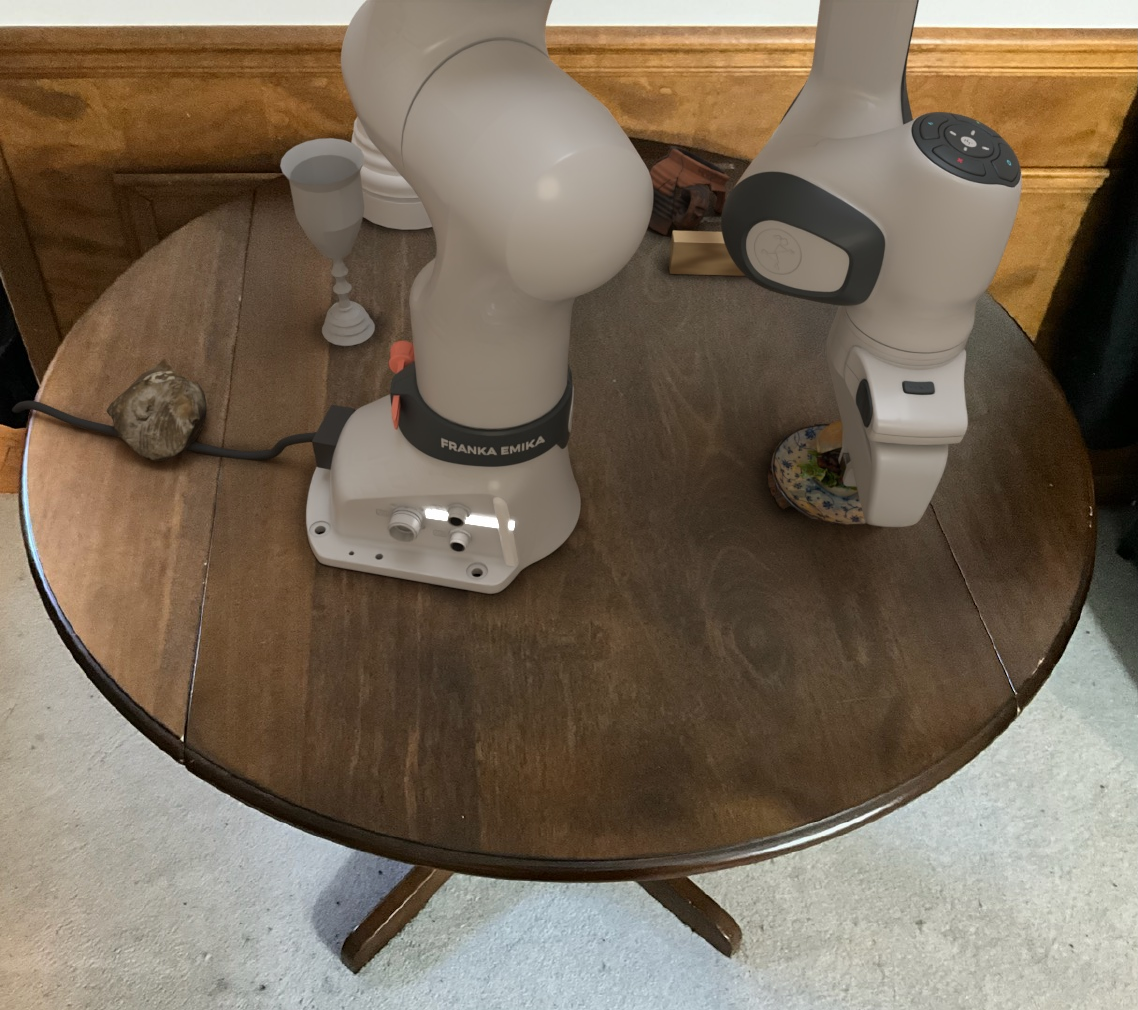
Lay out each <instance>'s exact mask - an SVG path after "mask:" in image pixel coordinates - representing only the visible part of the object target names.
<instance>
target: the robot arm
mask: <svg viewBox="0 0 1138 1010" xmlns="http://www.w3.org/2000/svg"><path fill="white" fill-rule="evenodd" d="M553 1H554V0H365V1H364V2H363V3H362V4H361V5H360V7H359V8H358V9H357V11H356V12H355V13H354V15H353V17H352V18H351V20H350V22H349V24H348V26H347V29H346V31H345V34H344V37H343V41H342V45H341V51H340V52H341V53H340V69H341V76H342V80H343V83H344V86H345V89H346V91H347V94H348V96H349V100H350V101H351V104H352V106H353V109H354V111H355V113H356V116H357V117H358V118H359V120H360V122H361V124H362V126H363V128H364V130H365V132H366V134H367V136H368V137H369V139H370V140H371V141H372V143H373V144H374V145H375V146H376V148H377V149H378V150H379V151H380V152H381V153H382V154H383V155H384V157H385V158H386V159H387V160H388V161H389V162H390V163H391V165H392V166H393V167H394V168H395V169H396V170H397V171H398V172H399V174H400V175H401V176H402V177H403V178H404V179H405V180H406V181H407V183H408V184H409V185H410V186H411V187H412V189H413V190H414V192H415V193H416V194H417V196H418V197H419V198H420V200H421V202H422V204H423V206H424V208H425V210H426V212H427V215H428V217H429V219H430V222H431V224H432V227H431V228H432V230H433V234H434V238H435V243H436V244H435V245H436V252H435V257H434V258H432V259H431V260H430V261H429V262H428V263H427V264H426V265H424V266H423V267H422V269H421V270H420V271H419V272H418V274H416V276H415V278H414V280H413V282H412V284H411V287H410V290H409V298H408V305H409V314H410V325H411V327H410V328H411V336H412V342H410V341H408V340H397V341H395V342H394V343H393V344H392V345H391V347H390V358H389V360H388V367H389V369H390V370H391V371H392V372H393V373H394V375H393V376H392V378H391V381H390V387H389V394H386V395H385V396H383V397H380V398H378V399H375V400H374V401H371V402H369V403H367V404H364V405H362V406H360V407H359V408H357V409H355V408H353V407H347V406H342V405H337V404H331V405H330V407H329V409H328V411H327V412H326V414H325V416H324V418H323V420H322V421H321V423H320V425H319V427H318V429H317V430H316V431H313V432H303V433H297V434H292V435H287V436H286V437H284V438H281V439H280V440H278V441H277V442H276V443H275V445H274V446H273V447H271V448H270V449H264V450H238V449H230V448H226V447H225V448H224V447H219V446H215V445H214V446H213V445H209V444H205V443H200V442H196V441H194V442H193V443H191V445H190V446H188V447H187V448H185V449H184V450H187V451H191V452H195V453H200V454H205V455H210V456H213V457H214V456H215V457H222V458H229V459H237V460H248V461H250V460H251V461H265V460H271V459H274V458H276V457H278V456H279V455H280V454H281V453H282V452H283V451H284V450H285V449H286V448H287V447H290V446H293V445H297V444H305V443H311V445H312V449H313V453H314V459H315V463H316V467H315V469H314V472H313V474H312V478H311V480H310V484H309V488H308V493H307V498H306V499H307V500H306V507H305V525H306V536H307V540H308V544H309V546H310V549H311V552H312V553H313V555H314V557H315V558H316V560H317V561H318V562H319V563H320V564H322V565H326V566H329V567H333V568H334V567H335V568H339V569H344V570H345V569H346V570H351V571H357V572H363V573H368V574H374V575H380V576H384V577H385V576H386V577H392V578H397V579H402V580H408V581H413V582H419V583H425V584H430V585H437V586H442V587H447V588H454V589H459V590H466V591H471V592H476V593H482V594H489V595H492V594H498V593H500V592H502V591H503V590H505V589H506V588H508V586H510V584H511V583H512V582H513V581H514V580H515V579H516V577H517V576H518V575H519V574H520V573H521V571H523V570H524V569H526V568H528V567H529V566H530V565H532V564H534V563H537V562H539V561H540V560H542V559H545V558H546V557H547V556H549V555H551V554H552V553H554V552H555V551H557V549H559V548H560V547H561V546H562V545H563V544H564V543H565V542H566V541H567V540H568V539H569V537H570V536H571V535H572V533H573V531H574V530H575V528H576V526H577V524H578V520H579V519H580V514H581V506H582V501H581V500H582V498H581V492H580V488H579V486H578V483H577V480H576V478H575V476H574V473H573V468H572V464H571V459H570V449H569V440H570V436H571V432H572V429H573V420H574V402H575V387H574V383H573V373H572V369H571V366H570V364H569V355H570V341H571V328H572V317H573V316H572V315H573V310H574V309H573V308H574V304H575V300H576V298H577V297H581V296H582V295H586V294H588V293H591V292H593V291H595V290H597V289H598V288H600V287H602V286H603V285H605V284H606V283H607V282H609V281H610V280H611V279H613V278H614V277H615V276H617V274H619V273H620V272H621V271H622V270H623V269H624V268H625V267H626V265H627V264H628V263H629V262H630V260H631V259H632V258H633V256H634V255H635V254H636V252H637V250H638V249H639V247H640V245H641V243H642V241H643V240H644V237H645V235H646V232H647V230H648V228H649V226H648V224H649V221H650V217H651V213H652V208H653V184H652V180H651V176H650V170H649V169H648V167H647V165H646V164H645V161H644V160H643V159H642V157H641V155H640V154H639V152H638V151H637V149H636V148H635V146H634V144H633V143H632V141H631V140H630V138H629V136H628V135H627V134H626V132H625V131H624V129H623V128H622V126H621V125H620V124H619V122H618V121H617V120H616V118H615V117H614V115H613V114H612V112H611V111H610V110H609V109H608V108H607V106H605V105H604V104H603V103H602V102H601V101H600V100H599V99H598V98H596V97H595V96H594V95H593V94H592V93H590V92H589V91H588V90H587V89H586V88H584V86H582V85H581V84H580V83H578V82H577V81H576V80H575V79H574V78H573V77H571V75H569V74H568V73H567V72H566V71H564V70H563V69H562V68H561V67H559V66H558V65H557V64H556V63H555V62H554V61H553V60H552V59H551V58H550V55H549V51H548V47H547V41H546V27H547V20H548V17H549V12H550V9H551V7H552V3H553ZM919 2H920V0H819V3H818V4H819V6H818V13H817V22H816V30H815V31H816V32H815V37H814V38H815V40H814V46H813V47H814V48H813V56H812V63H811V68H810V71H809V73H808V77H807V79H806V81H805V83H804V85H803V86H802V88H801V89H800V90H799V92H798V93H797V94H796V96H795V97H794V99H793V100H792V102H791V104H790V105H789V106H788V108H787V110H786V111H785V113H784V115H783V117H782V118H781V121H780V122H779V124H778V126H777V127H776V128H775V130H774V131H773V133H772V135H771V136H770V137H769V139H768V140H767V141H766V143H765V144H764V145H763V147H762V148H761V149H760V151H759V152H758V153H757V154H756V156H755V157H754V158H753V160H752V161H751V162H750V163H749V165H748V166H747V168H746V169H745V171H743V173H742V175H741V176H740V178H739V179H738V180H737V182H736V184H735V185H734V187H733V188H732V189H731V190H730V192H729V193H728V195H727V196H726V201H725V203H724V206H723V209H722V212H721V216H720V217H721V218H720V227H721V232H722V235H723V239H724V243H725V246H726V248H727V250H728V253H729V255H730V256H731V258H732V260H733V261H734V263H735V264H736V266H737V267H738V268H739V269H740V270H741V272H742V273H743V274H744V275H745V276H744V277H746V278H748V279H749V280H750V281H751V282H753V283H754V284H756V285H758V286H759V287H761V288H763V289H765V290H767V291H769V292H772V293H776V294H780V295H783V296H788V297H792V298H796V299H801V300H805V301H811V302H816V303H821V304H826V305H834V306H838V307H837V309H836V312H835V314H834V317H833V320H832V322H831V325H830V328H829V331H828V335H827V337H826V344H825V359H826V362H827V366H828V367H827V368H828V370H829V375H830V379H831V383H832V384H831V385H832V388H833V391H834V392H833V393H834V396H835V400H836V404H837V409H838V413H839V417H840V420H841V422H842V426H843V434H842V449H841V453H840V456H839V459H838V460H839V465H840V469H841V473H842V478H843V483H844V485H845V486H855V487H857V490H858V494H859V498H860V502H861V507H862V511H863V516H864V519H865V521H866V523H867V525H869V526H874V527H882V528H883V527H884V528H906V527H911V526H914V525H916V524H917V523H919V522H920V521H921V519H922V517H923V516H924V514H925V512H926V511H927V508H928V507H929V505H930V503H931V501H932V499H933V497H934V495H935V492H936V490H937V488H938V486H939V485H940V482H941V479H942V477H943V475H944V472H945V469H946V466H947V462H948V458H949V445H956V444H957V445H958V444H960V443H961V442H962V440H963V439H964V437H965V435H966V433H967V430H968V426H969V418H968V417H969V416H968V409H967V399H966V387H965V370H966V362H967V350H966V349H965V348H966V345H967V342H968V341H969V337H970V336H971V333H972V331H973V328H974V325H975V322H976V321H975V320H976V306H977V303H978V301H979V299H980V298H981V297H982V295H983V294H984V293H985V292H986V291H987V290H988V289H989V286H991V284H992V282H993V280H994V278H995V276H996V273H997V271H998V269H999V266H1000V265H1001V264H1000V263H1001V262H1002V259H1003V256H1004V253H1005V251H1006V248H1007V246H1008V243H1009V240H1010V237H1011V234H1012V231H1013V228H1014V224H1015V221H1016V218H1017V215H1018V210H1019V206H1020V200H1021V195H1022V191H1023V190H1022V188H1023V177H1022V176H1023V175H1022V168H1021V165H1020V162H1019V159H1018V156H1017V155H1016V152H1015V151H1014V149H1013V148H1012V146H1011V145H1010V144H1009V143H1008V142H1007V141H1006V140H1005V139H1004V138H1003V137H1002V136H1001V135H1000V134H999V133H998V132H997V131H995V130H994V129H993V128H991V127H990V126H988V125H986V124H985V123H983V122H981V121H979V120H977V119H975V118H973V117H971V116H967V115H963V114H960V113H953V112H948V111H947V112H946V111H932V112H926V113H923V114H921V115H919V116H916V117H915V118H913V113H912V109H911V104H910V100H909V94H908V85H907V67H908V58H909V53H910V48H911V43H912V38H913V33H914V27H915V24H916V23H915V22H916V19H917V18H916V17H917V13H918V8H919ZM26 410H32V411H37V412H40V413H42V414H45V415H48V416H50V417H52V418H54V419H57V420H58V421H61V422H63V423H66V424H68V425H72V426H73V427H77V428H81V429H85V430H88V431H93V432H97V433H101V434H104V435H109V436H114V437H118V438H121V437H120V436H119V435H118V433H117V432H116V431H115V429H114V425H109V424H104V423H100V422H96V421H92V420H88V419H85V418H80V417H77V416H75V415H71V414H70V413H67V412H64V411H62V410H60V409H58V408H55V407H53V406H50V405H48V404H45V403H43V402H40V401H36V400H23V401H19V402H17V403H16V404H15V405H14V406H13V407H12V408H11V411H12V412H13V413H15V414H16V413H17V414H19V413H22V412H24V411H26ZM319 533H320V534H319ZM474 575H480V576H474Z"/></svg>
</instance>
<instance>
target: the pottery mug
mask: <svg viewBox="0 0 1138 1010" xmlns="http://www.w3.org/2000/svg"><path fill="white" fill-rule="evenodd" d="M667 149H668V152H667V154H666V155H664V156H661V157H660V158H658V159H656V160H655V161H654V162H653V163H652V164H651V169H650V170H649V173H650V176H651V180H652V184H653V208H652V213H651V217H650V221H649V224H648V228H650V229H652V230H653V231H656V232H657V233H659V234H661V235H664V236H667V235H668V233H669V229H670V227H671V226H672V223H673V225H674V226H675V228H676V229H677V231H695V228H696V227H697V225H699V223H700V222H702V220H703V219H704V217H705V215H706V213H707V211H708V209H709V206H710V194H711V193H710V191H711V192H712V193H713V194H714V195H715V197H716V200H715V205H714V211H715V212H716V213H722V210H723V206H724V203H725V201H726V199H727V190H726V184H727V182H728V181H729V180H730V176H728V175H727V173H726V172H725V171H724V170H723V169H722V168H720V167H719V166H718V165H715V164H714V163H713V162H710V161H709V160H707V159H705V158H703V157H701V156H699V155H697V154H696V153H693V152H692V151H689V150H687V149H684V148H683V147H679V146H677V145H670V146H669V147H668V148H667ZM677 189H679V190H681V191H680V196H679V195H678V196H676V190H677Z"/></svg>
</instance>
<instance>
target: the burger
mask: <svg viewBox="0 0 1138 1010" xmlns="http://www.w3.org/2000/svg"><path fill="white" fill-rule="evenodd" d="M842 434H843V426H842V422H841V419H840V420H837V421H833V422H832V423H814V424H813V425H812V424H811V425H807V426H802V427H800V428H797V429H795V430H794V431H791V432H790V433H789V434H787V435H786V436H785V437H784V438H782V439H781V440H780V442H779V443H778V445H776V447H775V449H774V451H773V454H772V457H771V460H770V462H769V464H768V469H767V483H768V484H767V485H768V488H769V490H770V493H771V496H773V498H774V499H775V501H776V503H777V505H778V506H779V507H780V509H782V510H785V509H787V508H788V507H792V508H794V509H795V510H797V512H799V513H800V514H802V515H804V516H806V518H809V519H812V520H820V521H823V522H828V523H830V524H833V525H842V526H858V525H859V526H860V525H866V524H867V523H866V521H865V519H864V516H863V511H862V507H861V502H860V498H859V494H858V490H857V487H855V486H845V485H844V483H843V478H842V473H841V469H840V465H839V460H838V459H839V456H840V453H841V449H842ZM867 525H868V524H867Z"/></svg>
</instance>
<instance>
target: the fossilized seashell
mask: <svg viewBox="0 0 1138 1010" xmlns="http://www.w3.org/2000/svg"><path fill="white" fill-rule="evenodd" d="M207 407H208V406H207V399H206V394H205V391H204V389H203V388H202V387H201V385H200V384H199V383H198V382H195V381H191V380H189V379H187V378H186V377H185V376H184V375H182V374H180V373H179V372H178V371H177V370H176V369H175V368H174V366H173V365H172V364H171V363H170V362H169V361H168V360H167V359H166V358H163V359H162V360H161V361H159V363H157V364H155V366H152V367H151V368H149V369H147V370H145V371H144V372H143V373H141V374H140V375H139V376H138V377H137V379H135V381H134V382H133V383H132V384H130V386H129V387H128V388H127V389H126V390H125V391H124V392H123V393H122V394H120V395H118V397H116V399H114V400H113V401H112V402H111V403H110V404H109V406H108V407H107V409H106V413H107V414H108V416H109V417H110V418H111V419H112V422H113V427H114V429H115V431H116V432H117V433H118V435H119V436H120V437H119V438H121V439H122V440H123V441H124V442H125V443H126V444H127V445H128V446H129V447H130V448H131V449H132V450H133V451H134V452H135V453H136V454H137V455H139V456H140V457H141V458H145V459H146V460H150V461H154V462H157V461H158V462H161V461H164V460H168V459H169V460H170V459H172V458H175V457H176V456H178V455H179V454H181V453H182V452H183V451H185V450H186V449H185V448H187V447H188V446H190V445H191V443H193V442H196V440H197V438H198V437H199V435H200V433H201V430H202V429H203V427H204V424H205V422H206V419H207V411H208V409H207Z"/></svg>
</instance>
